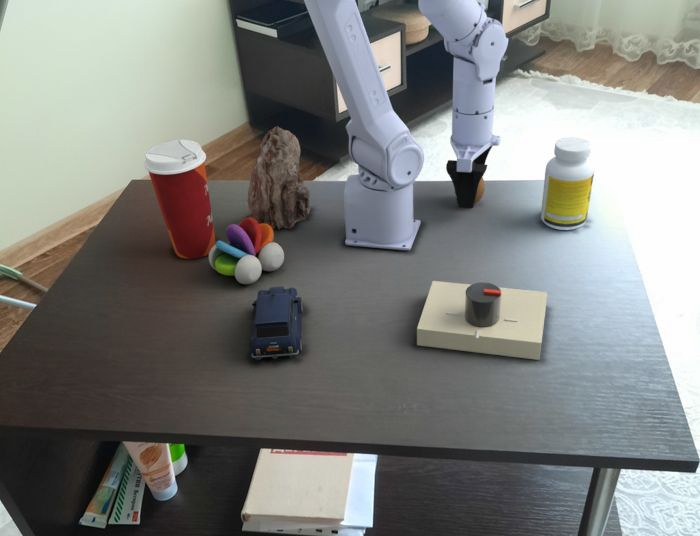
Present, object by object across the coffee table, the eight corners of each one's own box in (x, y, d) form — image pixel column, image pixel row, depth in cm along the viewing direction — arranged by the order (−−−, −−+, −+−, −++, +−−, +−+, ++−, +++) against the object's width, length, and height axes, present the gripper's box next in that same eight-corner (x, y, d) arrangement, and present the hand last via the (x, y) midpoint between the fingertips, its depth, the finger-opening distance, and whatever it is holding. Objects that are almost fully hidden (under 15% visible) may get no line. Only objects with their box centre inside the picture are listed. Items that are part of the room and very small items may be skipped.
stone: (300, 116, 105) (232, 124, 105) (296, 132, 99) (224, 141, 99) (315, 211, 113) (252, 217, 114) (312, 231, 107) (245, 238, 107)
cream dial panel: (415, 348, 85) (415, 330, 83) (432, 296, 93) (432, 279, 91) (538, 363, 82) (541, 345, 80) (545, 308, 89) (547, 290, 88)
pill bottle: (587, 233, 102) (599, 155, 95) (539, 231, 103) (548, 153, 96) (585, 210, 107) (597, 134, 100) (540, 208, 108) (548, 133, 101)
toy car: (302, 303, 94) (297, 266, 90) (301, 363, 84) (296, 325, 81) (256, 306, 94) (250, 270, 90) (250, 367, 84) (242, 329, 81)
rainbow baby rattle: (295, 264, 101) (289, 218, 96) (240, 296, 96) (231, 248, 91) (256, 244, 106) (248, 199, 101) (202, 273, 101) (191, 227, 96)
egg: (490, 204, 110) (492, 167, 107) (468, 214, 109) (469, 177, 105) (469, 194, 113) (471, 157, 110) (448, 203, 111) (448, 166, 108)
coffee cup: (235, 244, 106) (216, 147, 96) (190, 269, 102) (165, 169, 92) (199, 227, 111) (178, 132, 101) (155, 250, 106) (128, 153, 97)
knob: (462, 325, 84) (463, 298, 81) (467, 305, 87) (468, 278, 84) (497, 329, 83) (499, 302, 80) (501, 308, 86) (503, 281, 83)
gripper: (495, 129, 95) (490, 221, 104) (507, 89, 106) (501, 175, 114) (442, 126, 97) (440, 217, 105) (459, 87, 108) (456, 172, 116)
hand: (469, 195), depth 110 cm, fingers open, 6 cm apart
